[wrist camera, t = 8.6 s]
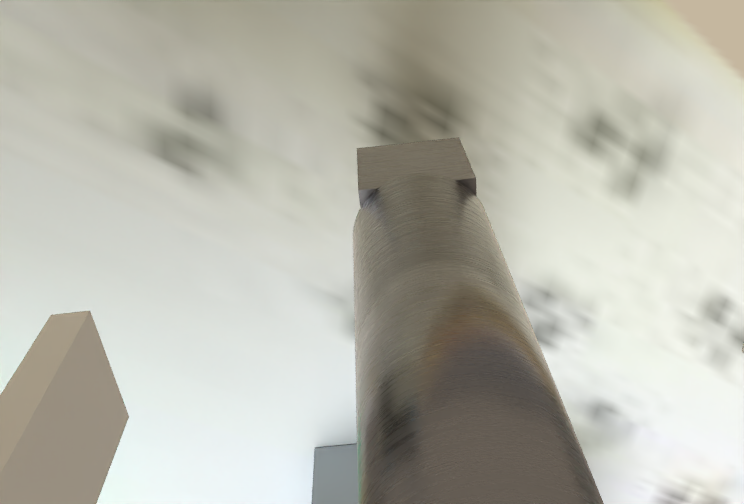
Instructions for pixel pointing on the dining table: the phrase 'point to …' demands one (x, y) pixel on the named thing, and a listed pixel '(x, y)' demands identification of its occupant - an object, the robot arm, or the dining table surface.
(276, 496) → the dining table surface
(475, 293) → the l-shaped bracket
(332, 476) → the bearing block
